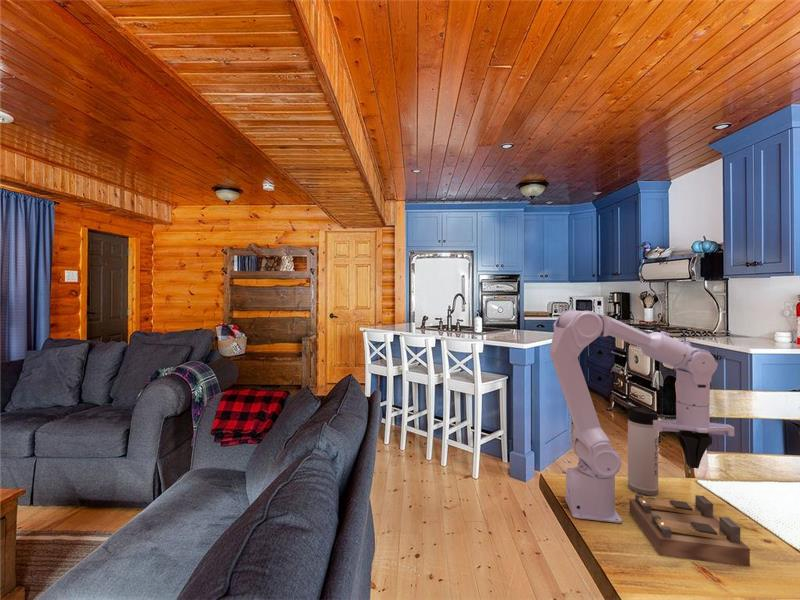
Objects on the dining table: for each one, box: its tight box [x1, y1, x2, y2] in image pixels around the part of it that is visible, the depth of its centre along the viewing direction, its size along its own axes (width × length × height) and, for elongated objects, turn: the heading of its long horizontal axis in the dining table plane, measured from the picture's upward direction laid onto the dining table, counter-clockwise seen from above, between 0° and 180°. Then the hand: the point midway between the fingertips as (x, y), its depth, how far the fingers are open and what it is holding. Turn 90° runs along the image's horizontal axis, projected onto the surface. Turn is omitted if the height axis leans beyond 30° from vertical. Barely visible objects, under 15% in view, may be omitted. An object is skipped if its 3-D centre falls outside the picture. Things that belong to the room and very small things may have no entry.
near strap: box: [655, 518, 727, 540], centre depth 70 cm, size 10×3×1 cm, turn 78°
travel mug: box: [626, 405, 659, 496], centre depth 93 cm, size 6×7×20 cm
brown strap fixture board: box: [628, 493, 751, 567], centre depth 74 cm, size 14×14×6 cm
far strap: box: [638, 497, 701, 516], centre depth 78 cm, size 10×3×1 cm, turn 78°
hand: (692, 466), depth 82 cm, fingers closed
